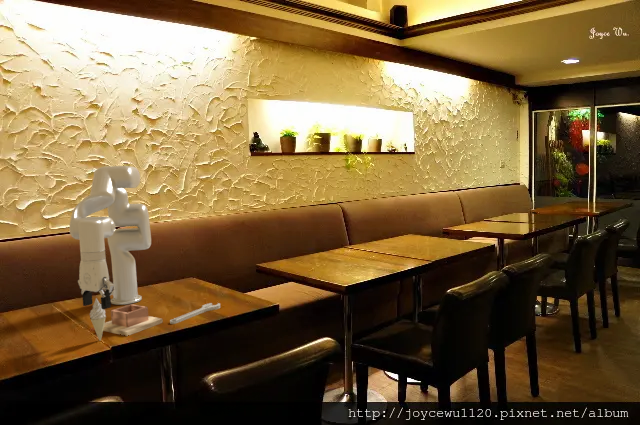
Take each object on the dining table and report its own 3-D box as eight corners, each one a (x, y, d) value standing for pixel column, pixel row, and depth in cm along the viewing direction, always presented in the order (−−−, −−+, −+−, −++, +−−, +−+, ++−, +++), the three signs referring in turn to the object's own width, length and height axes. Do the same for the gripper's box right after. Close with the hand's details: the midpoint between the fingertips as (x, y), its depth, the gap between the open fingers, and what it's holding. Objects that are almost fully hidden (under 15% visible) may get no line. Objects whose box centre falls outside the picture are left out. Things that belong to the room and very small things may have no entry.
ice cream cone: (94, 338, 176) (91, 295, 174) (110, 337, 176) (106, 295, 174) (89, 343, 171) (86, 299, 169) (105, 342, 171) (101, 299, 169)
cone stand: (97, 329, 185) (96, 311, 184) (133, 316, 198) (132, 300, 198) (126, 336, 177) (125, 317, 176) (162, 322, 190) (161, 305, 190)
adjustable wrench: (173, 325, 188) (173, 321, 188) (162, 323, 192) (162, 318, 191) (223, 307, 208) (222, 303, 208) (212, 305, 212) (211, 301, 212)
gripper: (67, 256, 171) (71, 306, 173) (99, 260, 162) (103, 312, 164) (87, 253, 178) (90, 301, 179) (119, 256, 169) (123, 306, 170)
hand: (97, 306), depth 172 cm, fingers open, 9 cm apart
